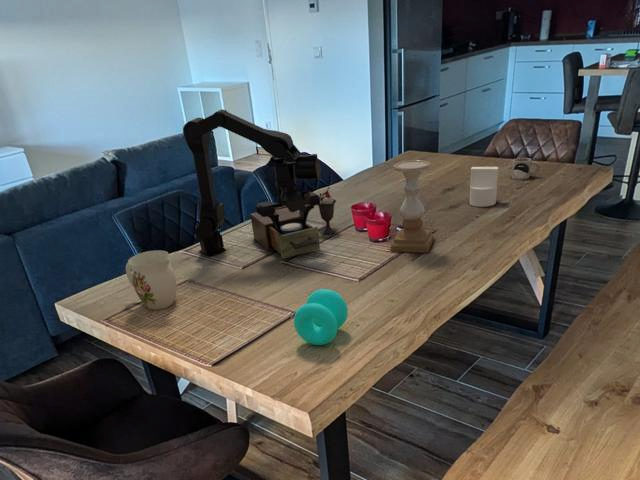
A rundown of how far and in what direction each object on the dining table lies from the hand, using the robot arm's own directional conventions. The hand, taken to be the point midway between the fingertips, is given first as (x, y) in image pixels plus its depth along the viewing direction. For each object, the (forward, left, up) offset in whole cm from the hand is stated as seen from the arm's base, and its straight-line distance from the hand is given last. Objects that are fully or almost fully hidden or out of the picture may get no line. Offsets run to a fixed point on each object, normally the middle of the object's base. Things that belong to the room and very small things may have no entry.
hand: (291, 231), depth 173 cm
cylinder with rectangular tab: (+70, -19, -6) cm, 73 cm away
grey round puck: (0, 0, -1) cm, 1 cm away
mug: (+105, -13, -6) cm, 106 cm away
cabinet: (+3, +11, -6) cm, 13 cm away
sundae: (+18, +4, -6) cm, 20 cm away
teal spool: (-29, -49, -6) cm, 57 cm away
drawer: (0, -2, -5) cm, 6 cm away
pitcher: (-47, -1, -6) cm, 47 cm away
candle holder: (+25, -27, -6) cm, 37 cm away
